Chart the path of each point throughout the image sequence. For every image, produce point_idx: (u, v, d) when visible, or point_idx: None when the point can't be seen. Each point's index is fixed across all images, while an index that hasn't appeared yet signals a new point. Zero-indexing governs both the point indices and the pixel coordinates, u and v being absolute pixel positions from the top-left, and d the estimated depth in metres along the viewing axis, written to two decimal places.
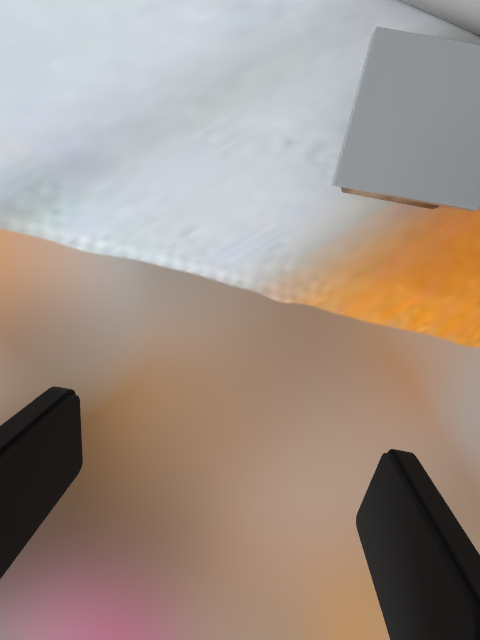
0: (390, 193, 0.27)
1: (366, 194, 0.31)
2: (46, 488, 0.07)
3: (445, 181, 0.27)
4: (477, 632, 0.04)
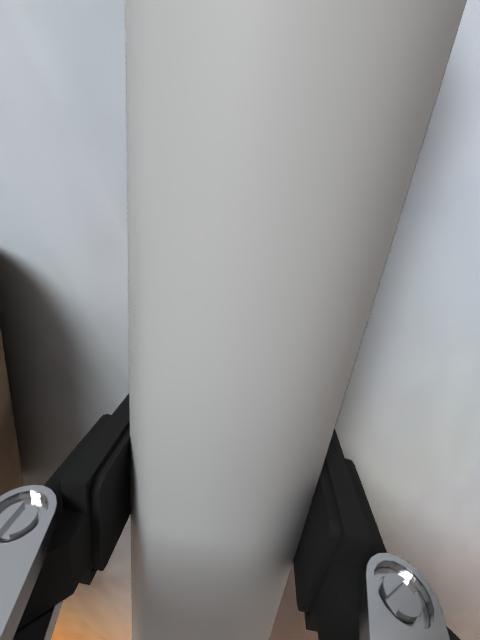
0: None
1: None
2: None
3: None
4: (331, 534, 0.06)
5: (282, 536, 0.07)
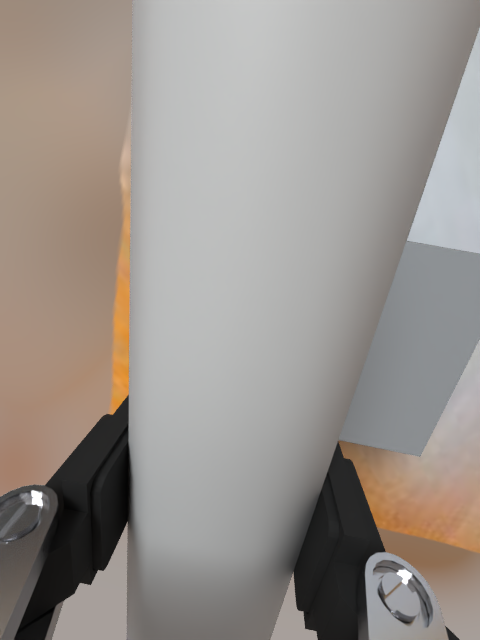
0: None
1: None
2: None
3: None
4: (330, 534, 0.06)
5: (283, 547, 0.06)
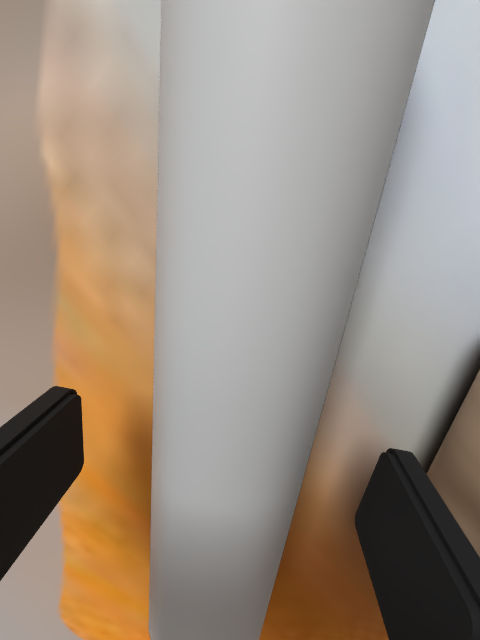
0: None
1: None
2: (48, 487, 0.07)
3: None
4: (474, 629, 0.05)
5: (284, 487, 0.08)
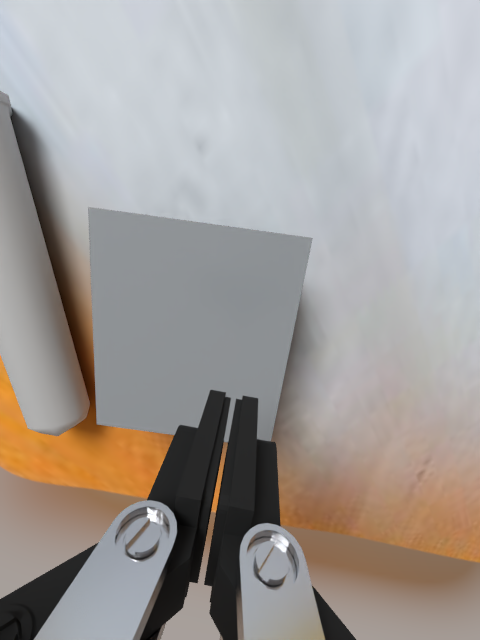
0: (93, 306, 0.17)
1: None
2: (216, 479, 0.08)
3: (124, 377, 0.18)
4: (221, 507, 0.06)
5: (28, 297, 0.20)
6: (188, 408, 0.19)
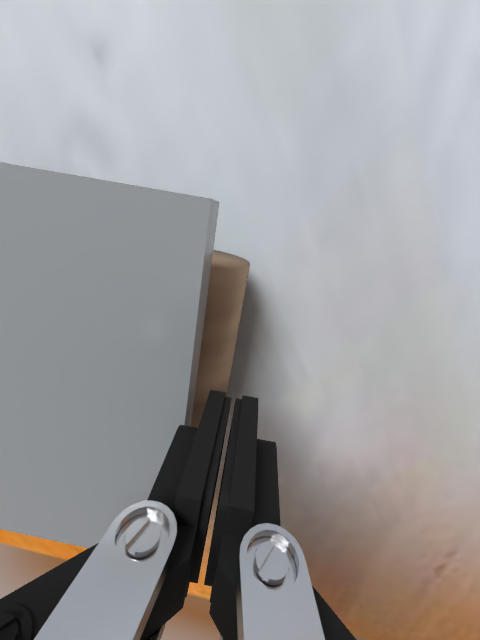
0: None
1: None
2: (216, 479, 0.08)
3: None
4: (221, 506, 0.06)
5: None
6: (27, 496, 0.11)
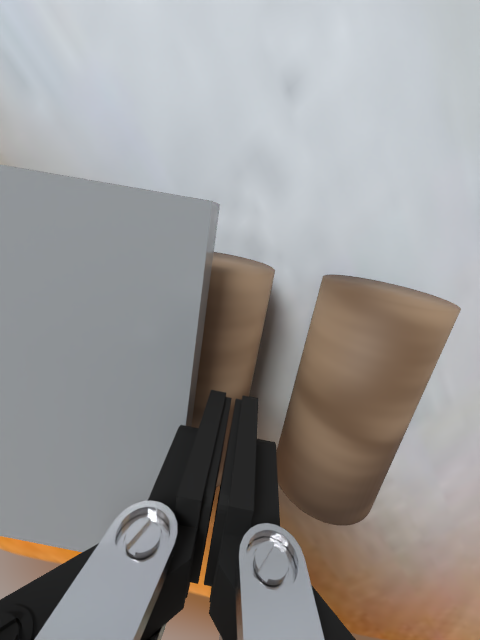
0: None
1: None
2: None
3: None
4: (220, 507, 0.06)
5: None
6: (25, 501, 0.11)
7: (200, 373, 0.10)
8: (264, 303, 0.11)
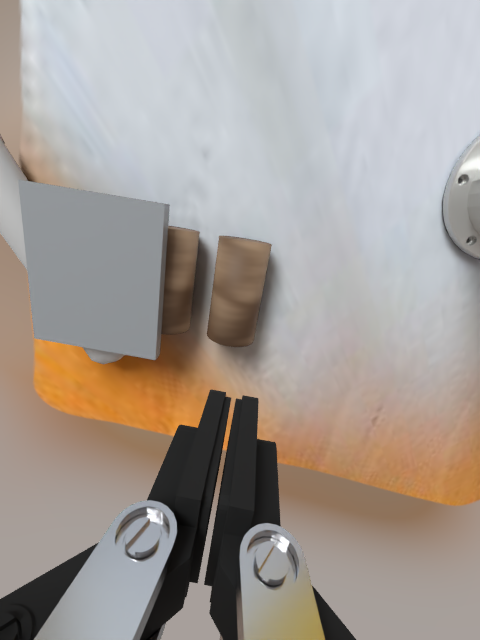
0: (26, 249, 0.24)
1: None
2: (216, 479, 0.08)
3: (50, 302, 0.26)
4: (221, 506, 0.06)
5: None
6: (96, 327, 0.26)
7: (166, 272, 0.26)
8: (193, 245, 0.26)
